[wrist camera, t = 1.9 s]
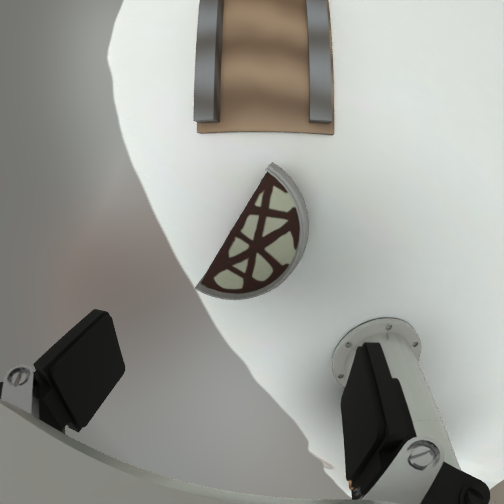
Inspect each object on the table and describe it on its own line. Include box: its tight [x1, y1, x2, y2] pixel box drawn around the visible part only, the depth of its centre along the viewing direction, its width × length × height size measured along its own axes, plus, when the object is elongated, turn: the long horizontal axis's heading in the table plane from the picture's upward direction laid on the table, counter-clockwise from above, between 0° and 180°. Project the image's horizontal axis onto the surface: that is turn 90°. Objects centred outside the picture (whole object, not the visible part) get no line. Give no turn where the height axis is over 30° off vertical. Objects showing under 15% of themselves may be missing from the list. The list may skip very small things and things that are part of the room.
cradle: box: [194, 0, 334, 135], centre depth 23 cm, size 18×14×4 cm
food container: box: [195, 162, 309, 300], centre depth 26 cm, size 12×6×10 cm, turn 149°
